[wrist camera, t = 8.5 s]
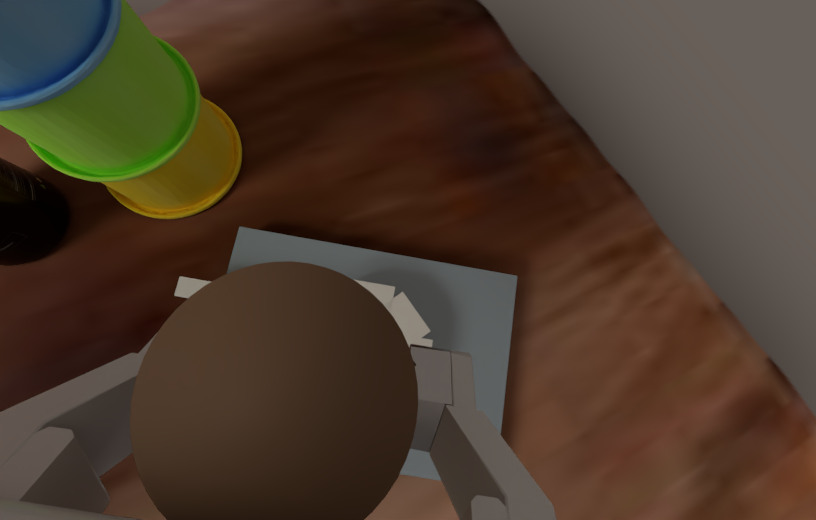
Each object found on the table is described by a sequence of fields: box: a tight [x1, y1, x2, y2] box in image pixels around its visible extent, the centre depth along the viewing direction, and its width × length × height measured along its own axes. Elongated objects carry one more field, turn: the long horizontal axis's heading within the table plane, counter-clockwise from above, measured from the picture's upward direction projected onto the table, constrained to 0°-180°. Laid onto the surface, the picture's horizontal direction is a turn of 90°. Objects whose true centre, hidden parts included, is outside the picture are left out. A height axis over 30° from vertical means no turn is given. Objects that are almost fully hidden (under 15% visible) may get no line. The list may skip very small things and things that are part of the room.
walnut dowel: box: [130, 261, 418, 520], centre depth 10 cm, size 4×4×10 cm
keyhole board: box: [174, 227, 517, 481], centre depth 25 cm, size 22×14×4 cm, turn 80°
